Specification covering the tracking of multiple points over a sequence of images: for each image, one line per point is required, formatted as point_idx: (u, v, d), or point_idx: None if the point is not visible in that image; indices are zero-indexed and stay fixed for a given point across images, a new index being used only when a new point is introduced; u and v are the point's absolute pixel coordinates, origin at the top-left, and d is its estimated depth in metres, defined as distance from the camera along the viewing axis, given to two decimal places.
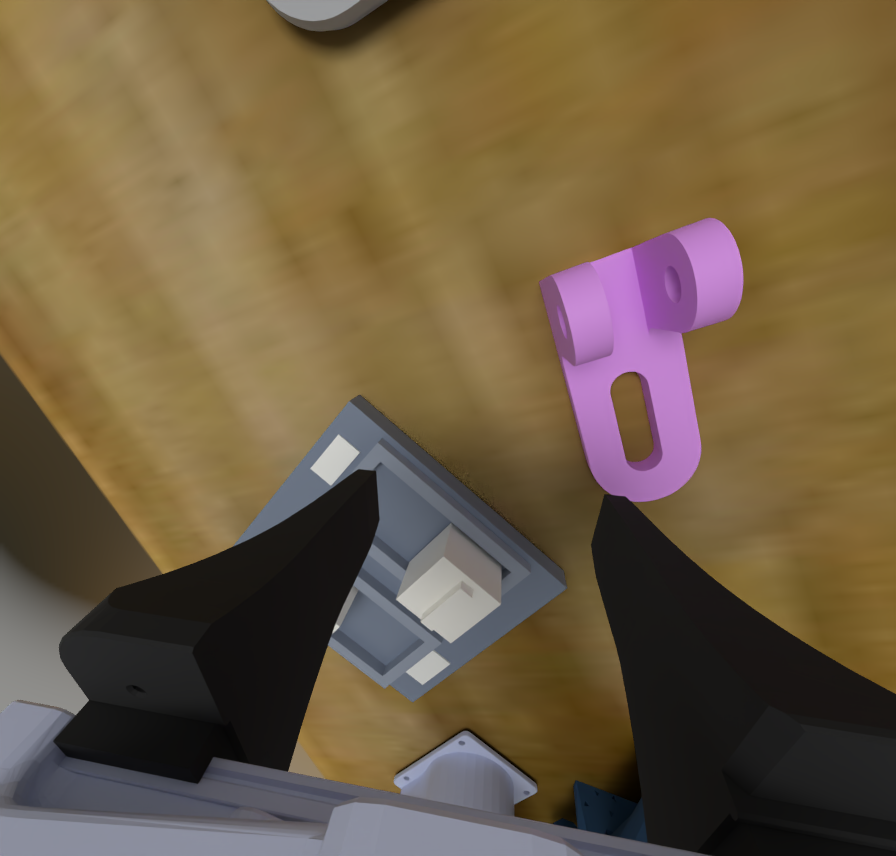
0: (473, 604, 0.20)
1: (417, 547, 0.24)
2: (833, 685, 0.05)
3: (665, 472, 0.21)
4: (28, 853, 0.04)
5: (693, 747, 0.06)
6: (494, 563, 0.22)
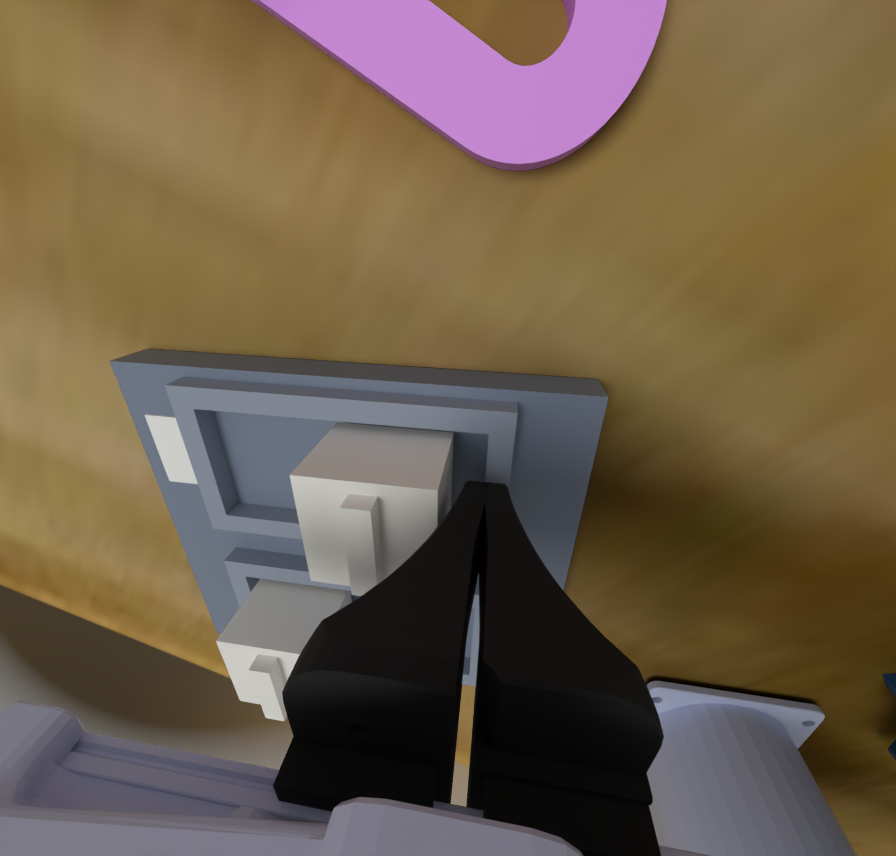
0: (402, 519, 0.10)
1: None
2: (570, 646, 0.06)
3: (606, 1, 0.08)
4: (28, 853, 0.04)
5: (476, 710, 0.07)
6: (434, 437, 0.12)
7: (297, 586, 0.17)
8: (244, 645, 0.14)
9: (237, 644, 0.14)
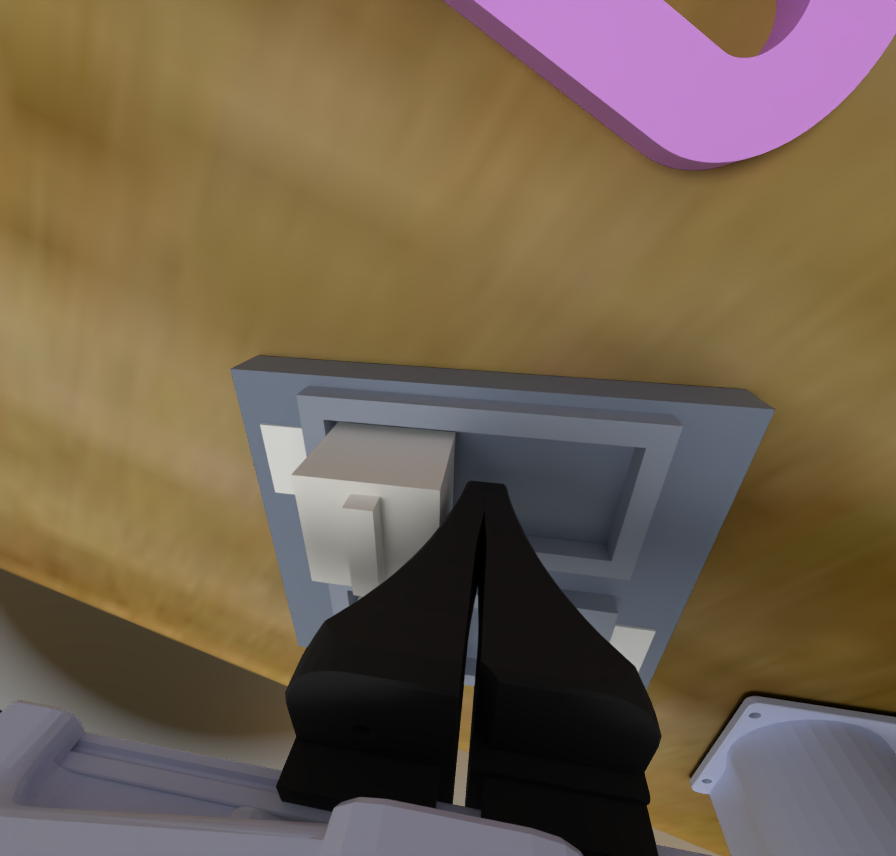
0: (404, 519, 0.10)
1: None
2: (567, 646, 0.06)
3: None
4: (28, 853, 0.04)
5: (474, 710, 0.07)
6: (436, 436, 0.12)
7: None
8: None
9: None
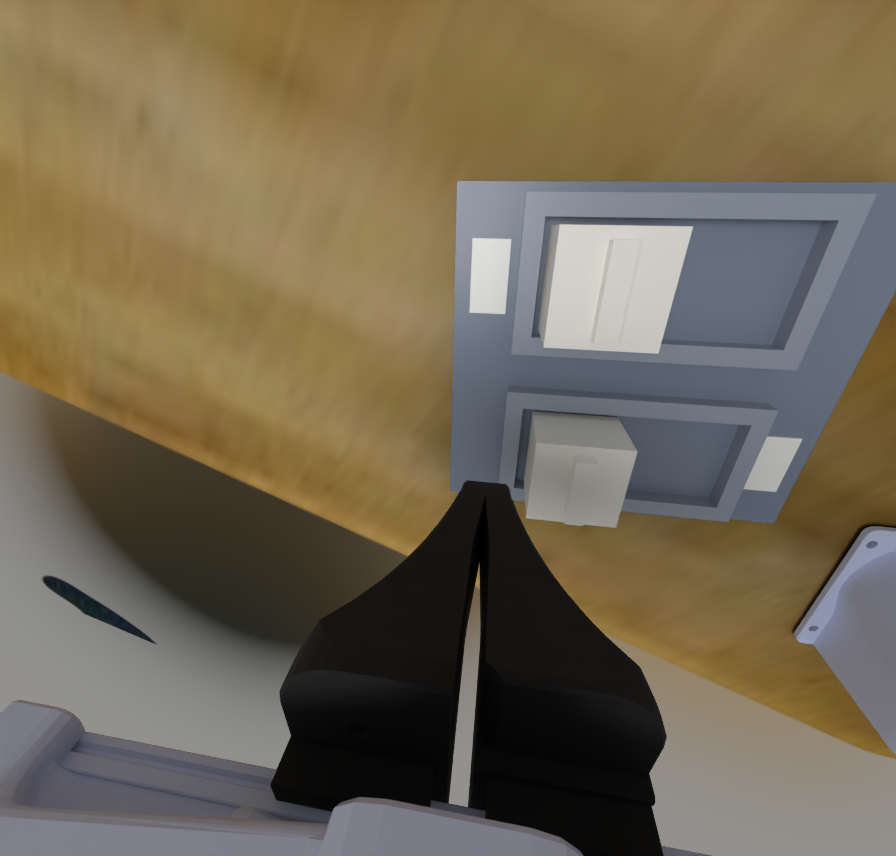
0: (651, 264, 0.12)
1: None
2: (572, 646, 0.06)
3: None
4: (28, 853, 0.04)
5: (477, 710, 0.07)
6: None
7: (571, 417, 0.18)
8: (564, 445, 0.16)
9: (558, 444, 0.16)
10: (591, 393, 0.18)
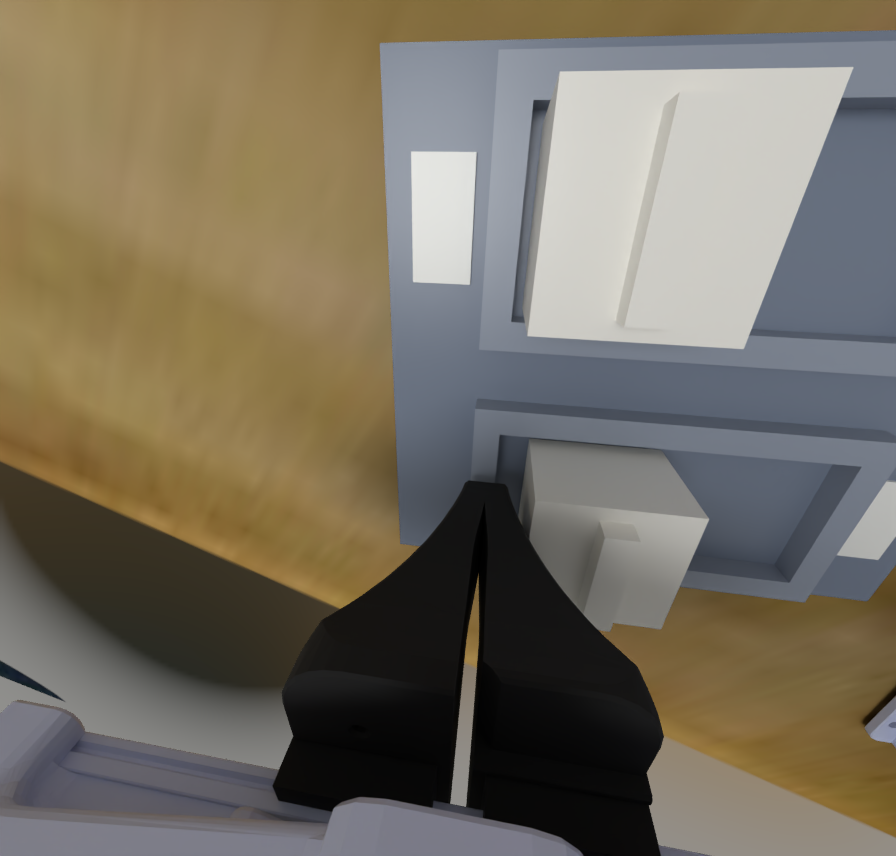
0: (749, 161, 0.06)
1: None
2: (570, 646, 0.06)
3: None
4: (28, 853, 0.04)
5: (475, 710, 0.07)
6: None
7: (589, 450, 0.12)
8: (582, 506, 0.09)
9: (571, 505, 0.09)
10: (606, 412, 0.11)
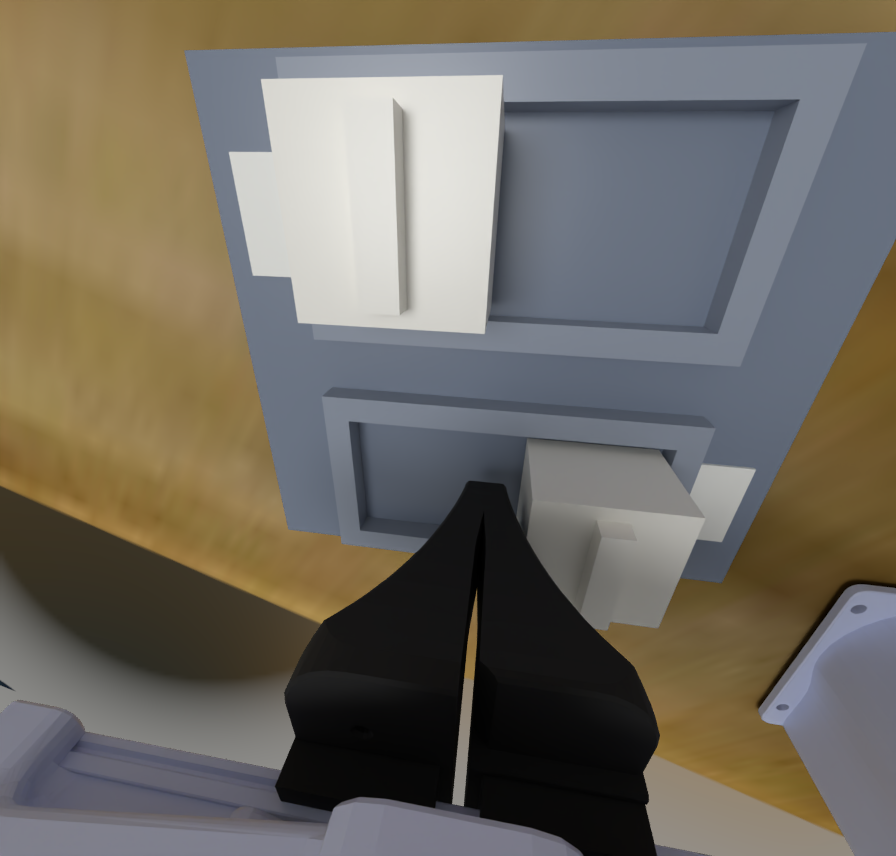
0: (440, 159, 0.07)
1: (532, 269, 0.10)
2: (566, 646, 0.06)
3: None
4: (28, 853, 0.04)
5: (472, 709, 0.07)
6: None
7: (587, 449, 0.12)
8: (579, 505, 0.09)
9: (569, 504, 0.09)
10: (445, 399, 0.12)
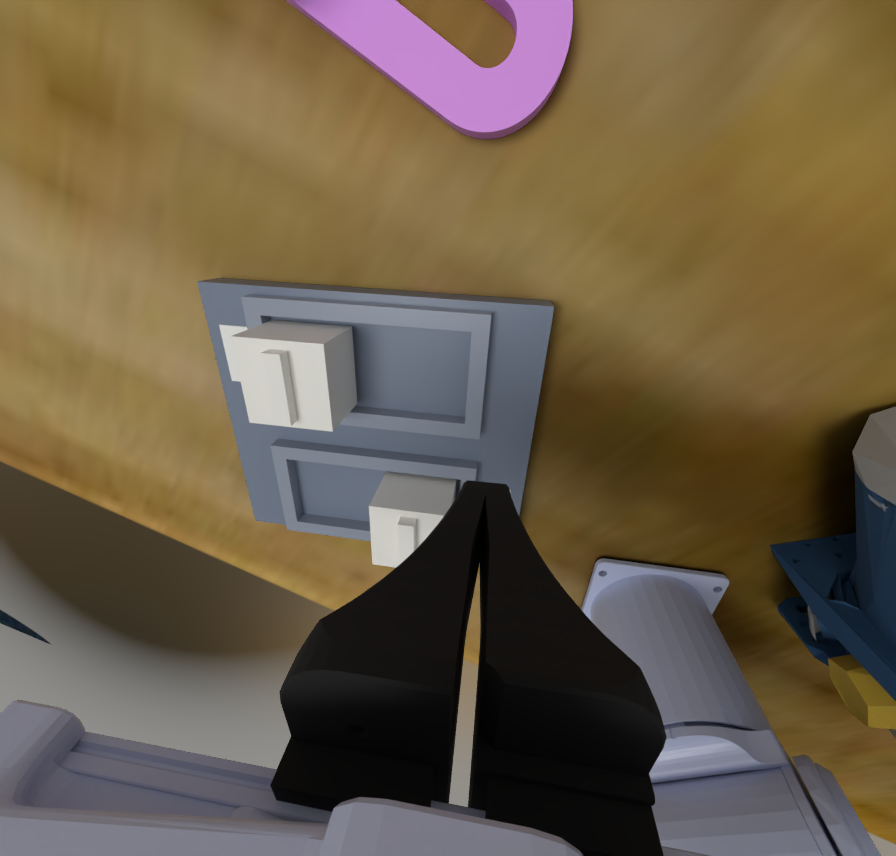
0: (304, 368, 0.16)
1: (377, 385, 0.20)
2: (572, 646, 0.06)
3: (535, 30, 0.13)
4: (28, 853, 0.04)
5: (478, 710, 0.07)
6: (336, 327, 0.18)
7: (416, 478, 0.21)
8: (391, 509, 0.19)
9: (386, 508, 0.19)
10: (339, 448, 0.21)
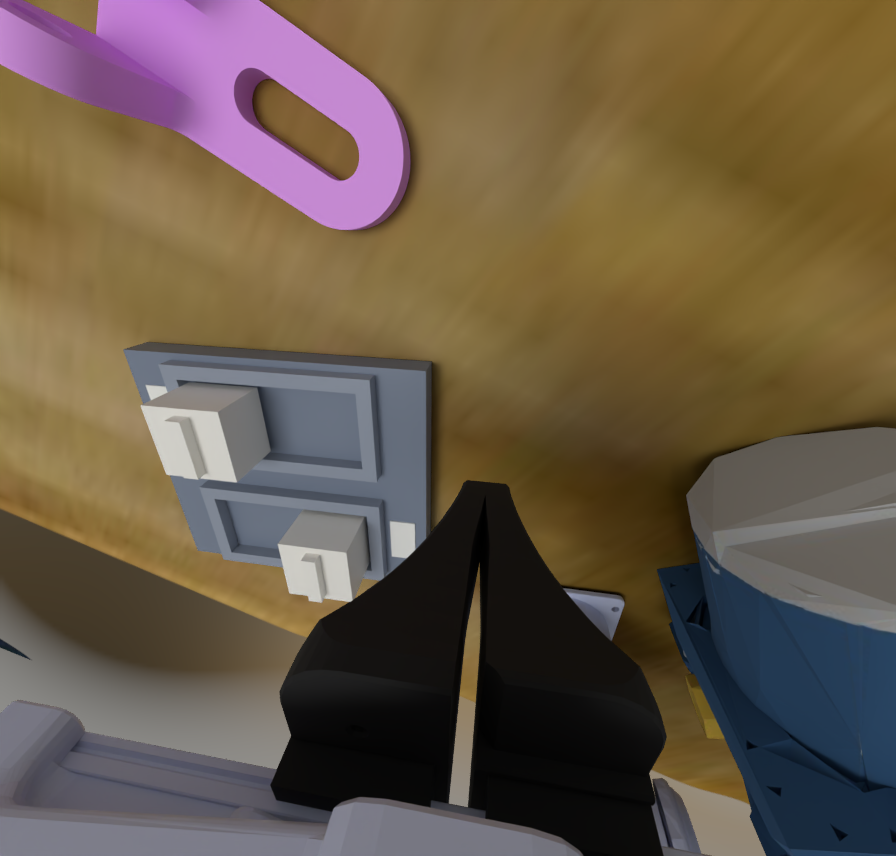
0: (205, 431, 0.18)
1: (286, 435, 0.22)
2: (572, 646, 0.06)
3: (373, 152, 0.16)
4: (28, 853, 0.04)
5: (477, 710, 0.07)
6: (242, 389, 0.20)
7: (328, 514, 0.24)
8: (297, 546, 0.21)
9: (292, 546, 0.21)
10: (261, 489, 0.24)
